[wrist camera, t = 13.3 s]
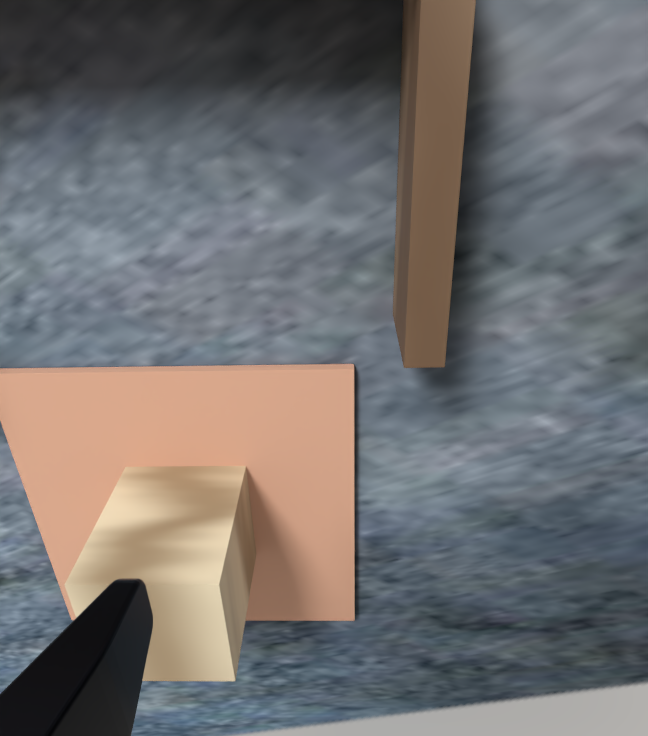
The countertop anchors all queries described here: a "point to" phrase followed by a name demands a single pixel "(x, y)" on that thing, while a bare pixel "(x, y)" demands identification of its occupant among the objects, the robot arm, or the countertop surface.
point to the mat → (200, 462)
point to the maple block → (178, 564)
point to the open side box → (429, 171)
